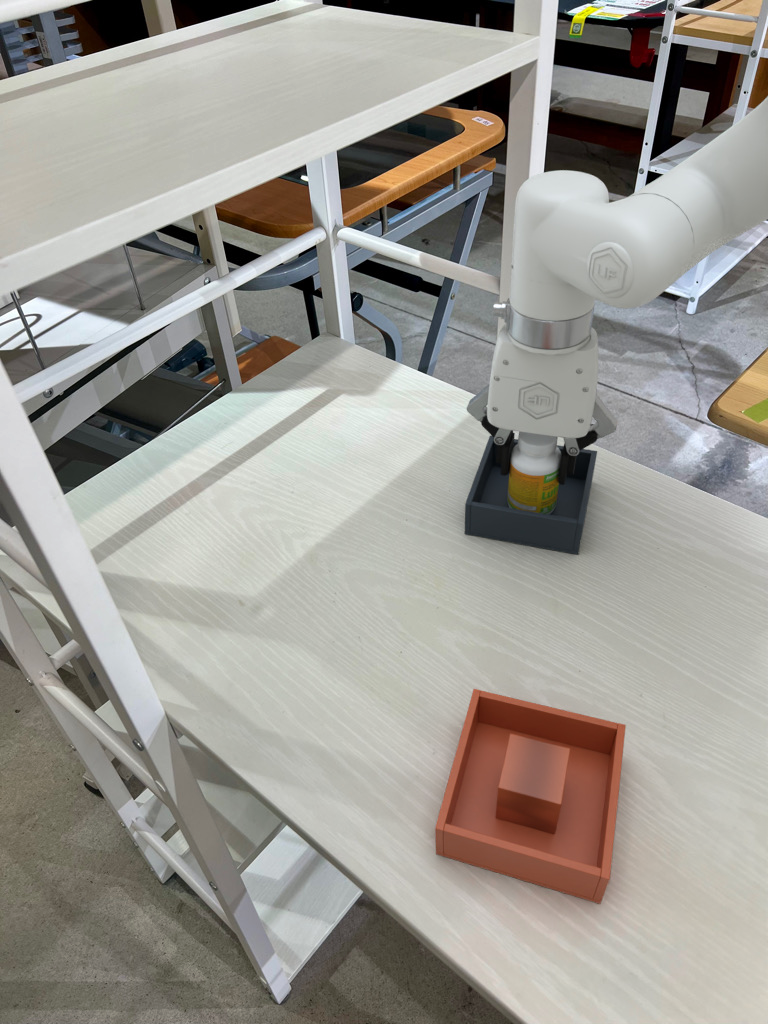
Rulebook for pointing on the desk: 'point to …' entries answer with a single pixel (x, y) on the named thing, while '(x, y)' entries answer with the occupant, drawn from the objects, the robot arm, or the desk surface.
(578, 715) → the terracotta bin
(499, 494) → the slate bin
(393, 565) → the desk surface
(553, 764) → the terracotta block
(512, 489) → the supplement bottle
